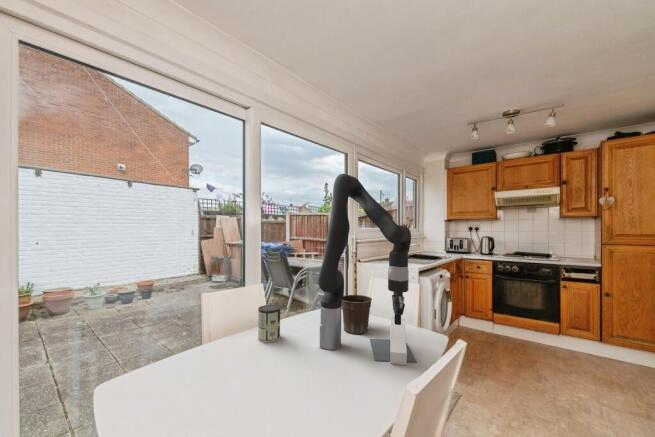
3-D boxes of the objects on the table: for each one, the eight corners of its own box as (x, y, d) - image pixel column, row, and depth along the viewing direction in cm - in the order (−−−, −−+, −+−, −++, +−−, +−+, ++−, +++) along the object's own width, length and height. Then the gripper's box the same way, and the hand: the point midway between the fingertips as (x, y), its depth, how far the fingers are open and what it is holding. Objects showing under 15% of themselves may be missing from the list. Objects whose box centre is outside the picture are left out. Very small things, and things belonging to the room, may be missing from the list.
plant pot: (341, 323, 153) (341, 293, 153) (371, 325, 150) (371, 295, 151) (338, 335, 137) (338, 301, 137) (372, 337, 134) (372, 303, 135)
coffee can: (268, 332, 139) (269, 303, 139) (284, 336, 133) (285, 306, 134) (252, 339, 130) (253, 308, 130) (269, 344, 125) (269, 312, 125)
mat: (375, 361, 110) (375, 359, 110) (369, 339, 131) (369, 338, 131) (416, 362, 109) (416, 361, 109) (404, 341, 130) (404, 339, 130)
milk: (390, 352, 106) (390, 312, 126) (390, 364, 108) (389, 323, 128) (407, 353, 105) (404, 313, 125) (406, 365, 107) (403, 324, 127)
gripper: (385, 274, 114) (385, 318, 113) (391, 281, 101) (390, 330, 100) (404, 275, 113) (404, 318, 113) (412, 281, 100) (412, 331, 100)
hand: (397, 324), depth 106 cm, fingers closed
